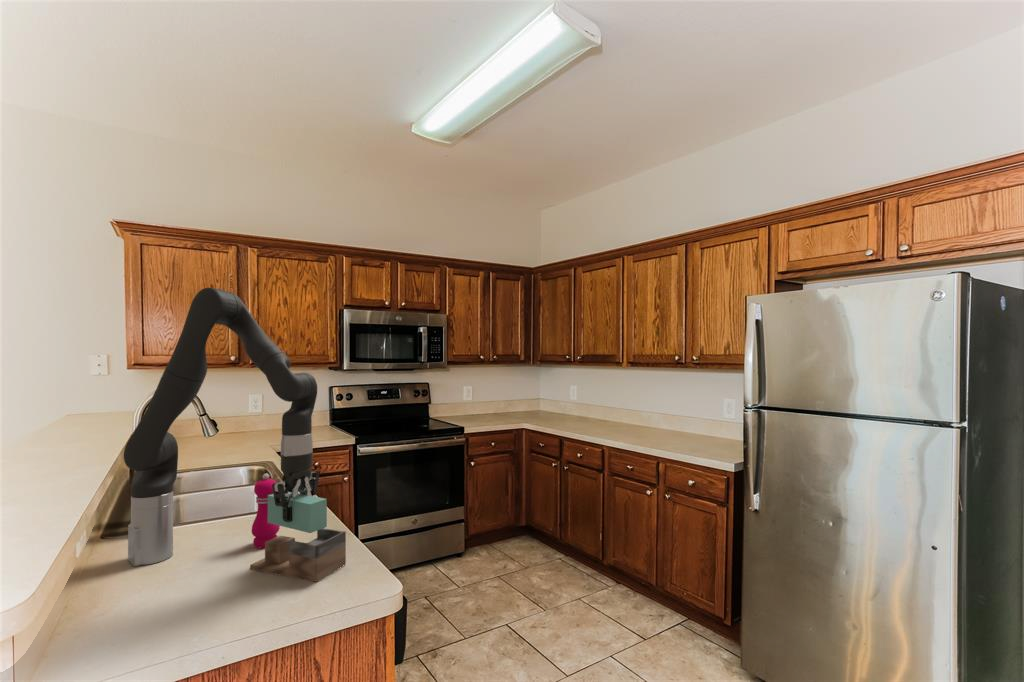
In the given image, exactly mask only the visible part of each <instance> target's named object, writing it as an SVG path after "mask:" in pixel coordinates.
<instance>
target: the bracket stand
mask: <svg viewBox="0 0 1024 682" xmlns="http://www.w3.org/2000/svg"><path fill="white" fill-rule="evenodd" d="M346 532H347V531H343V530H338V529H330V528H326V527H325V528H322V529H320V530H317V531H316V533H317V535H316V538H314V539H312V540H310V541H308V542H300V541H297V540H296V538H295V537H291V536H286V535H277V536H278V537H276V538H274V539H271V540H269V541H267V542H265V548H264V558H262V559H260V560H258V561H257V560H256V561H255V562H253V563H251V564H250V566H249V569H251V570H254V569H255V570H256V571H259V572H263V573H265V572H266V573H268V574H269V573H271V574H274V575H279V574H280V576H284V575H285V577H289V576H290V578H295V579H299V580H304V579H305V580H304V581H309V580H310V582H314V581H315V582H314V583H318V582H320V581H321V579H322V580H323V579H324V578H327V577H328V576H330V575H332V574H333V573H335V572H336V571H338V570H339V569H338V568H340V567H341V568H343V567H344V566H343V565H345V564H346V562H347V561H346V559H347V558H346V557H347V556H346V555H347V554H346V553H347V552H346V545H347V544H346V543H347V541H346V539H347V538H346V534H347V533H346ZM342 566H343V567H342ZM345 566H346V565H345ZM341 568H340V569H341ZM337 569H338V570H337ZM335 570H336V571H335ZM334 571H335V572H334ZM332 572H333V573H332ZM331 573H332V574H331ZM329 574H330V575H329ZM326 576H327V577H326ZM319 580H320V581H319Z"/></svg>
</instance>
